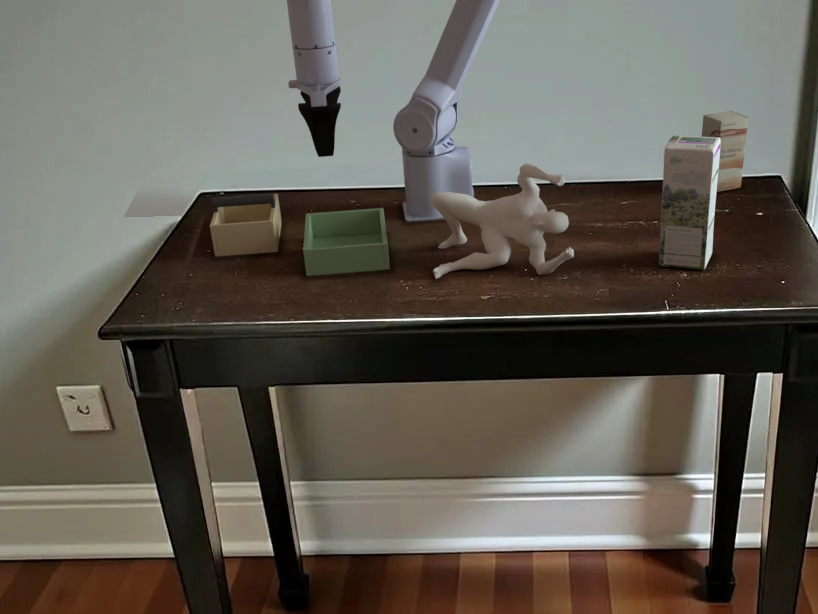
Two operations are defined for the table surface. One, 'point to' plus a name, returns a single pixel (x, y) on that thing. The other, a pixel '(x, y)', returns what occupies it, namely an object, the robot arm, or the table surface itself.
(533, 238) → the person figurine
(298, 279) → the table surface
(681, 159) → the syrup box
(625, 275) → the table surface
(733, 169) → the makeup remover box
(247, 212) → the cream bin
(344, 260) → the sage bin
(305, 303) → the table surface
